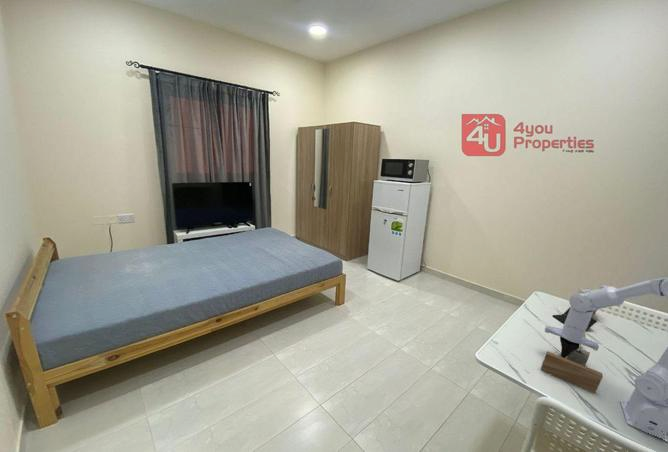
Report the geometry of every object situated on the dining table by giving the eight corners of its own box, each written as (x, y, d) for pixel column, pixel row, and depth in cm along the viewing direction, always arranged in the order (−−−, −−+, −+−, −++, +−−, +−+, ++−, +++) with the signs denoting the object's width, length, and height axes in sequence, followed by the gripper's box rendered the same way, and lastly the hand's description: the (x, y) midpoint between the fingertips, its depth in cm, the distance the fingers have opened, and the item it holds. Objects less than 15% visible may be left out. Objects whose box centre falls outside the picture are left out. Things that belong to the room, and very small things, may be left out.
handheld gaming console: (550, 314, 125) (567, 299, 123) (554, 319, 128) (571, 305, 127) (576, 334, 115) (596, 318, 113) (580, 339, 119) (599, 323, 117)
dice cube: (564, 361, 99) (569, 350, 97) (567, 355, 102) (572, 344, 101) (582, 370, 96) (588, 359, 94) (585, 363, 99) (590, 352, 97)
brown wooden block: (594, 393, 87) (602, 376, 85) (540, 370, 94) (547, 353, 92) (594, 390, 88) (602, 373, 86) (540, 367, 96) (547, 351, 93)
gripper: (601, 328, 95) (587, 359, 99) (549, 311, 103) (538, 340, 107) (605, 339, 89) (590, 371, 93) (550, 320, 97) (538, 351, 101)
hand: (563, 356), depth 100 cm, fingers closed
